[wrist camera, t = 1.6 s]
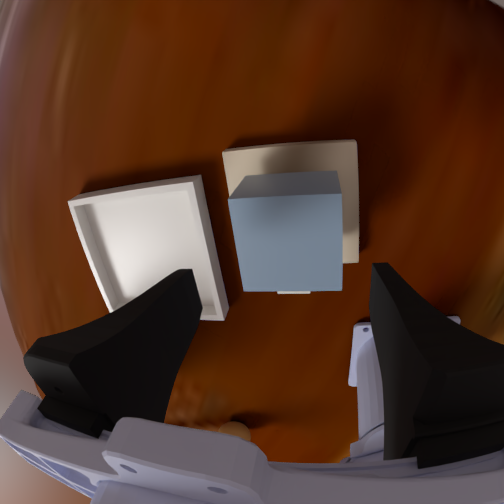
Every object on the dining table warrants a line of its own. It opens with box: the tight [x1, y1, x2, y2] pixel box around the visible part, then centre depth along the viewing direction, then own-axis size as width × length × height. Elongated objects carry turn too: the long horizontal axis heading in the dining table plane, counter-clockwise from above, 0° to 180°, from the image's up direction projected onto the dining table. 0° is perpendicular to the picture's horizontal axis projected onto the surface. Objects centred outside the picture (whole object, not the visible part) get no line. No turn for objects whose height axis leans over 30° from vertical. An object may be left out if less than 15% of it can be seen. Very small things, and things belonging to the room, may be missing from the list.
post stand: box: [222, 139, 359, 263], centre depth 18 cm, size 8×8×5 cm
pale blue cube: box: [228, 171, 343, 294], centre depth 17 cm, size 5×6×4 cm
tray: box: [68, 175, 229, 321], centre depth 24 cm, size 11×11×2 cm
